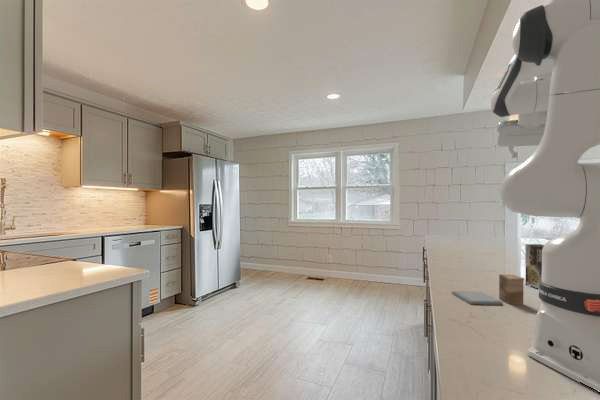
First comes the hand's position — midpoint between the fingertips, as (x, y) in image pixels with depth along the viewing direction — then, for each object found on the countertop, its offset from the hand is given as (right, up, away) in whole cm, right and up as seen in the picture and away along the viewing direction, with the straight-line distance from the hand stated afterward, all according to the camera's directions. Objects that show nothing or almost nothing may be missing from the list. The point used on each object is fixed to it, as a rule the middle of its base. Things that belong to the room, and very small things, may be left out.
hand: (530, 157), depth 107 cm
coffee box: (+8, -49, +5) cm, 50 cm away
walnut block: (-16, -48, -12) cm, 52 cm away
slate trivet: (-26, -48, -10) cm, 55 cm away
